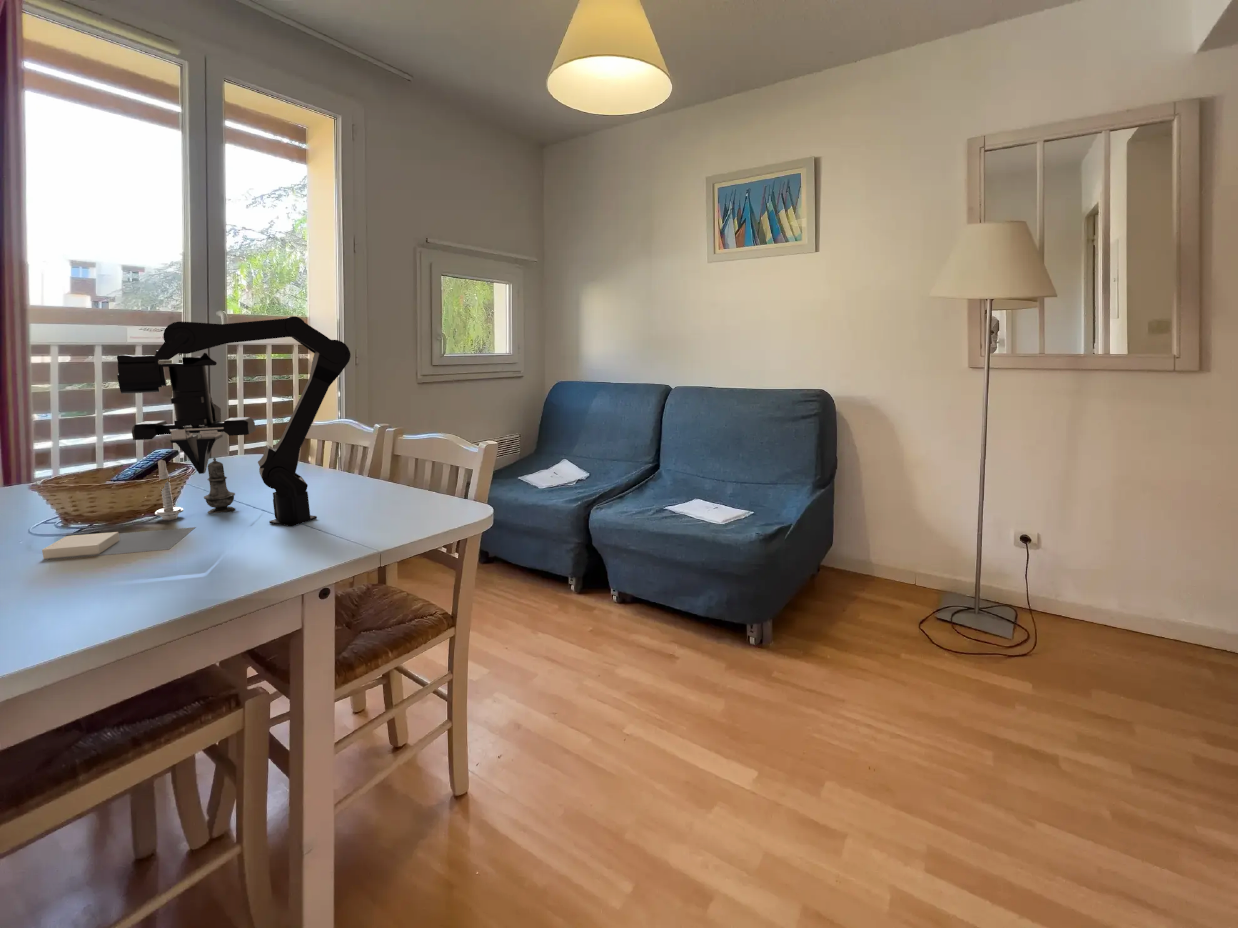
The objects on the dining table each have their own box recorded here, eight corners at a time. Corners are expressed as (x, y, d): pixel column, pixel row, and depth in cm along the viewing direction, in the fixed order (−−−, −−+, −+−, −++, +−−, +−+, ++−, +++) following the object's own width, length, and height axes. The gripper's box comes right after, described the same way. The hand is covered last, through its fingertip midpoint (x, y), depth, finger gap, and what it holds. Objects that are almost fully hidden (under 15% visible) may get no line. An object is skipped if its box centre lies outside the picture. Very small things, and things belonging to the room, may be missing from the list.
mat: (196, 529, 127) (195, 527, 127) (169, 551, 114) (169, 549, 114) (88, 538, 122) (87, 535, 122) (47, 562, 109) (46, 560, 109)
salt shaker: (226, 514, 137) (219, 460, 135) (199, 515, 138) (191, 460, 135) (242, 507, 143) (236, 454, 141) (217, 507, 143) (209, 455, 141)
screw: (153, 525, 130) (159, 519, 135) (181, 522, 132) (186, 516, 137) (143, 462, 128) (150, 458, 132) (172, 460, 130) (177, 456, 134)
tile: (118, 531, 119) (66, 536, 117) (97, 544, 111) (41, 549, 109) (119, 540, 119) (68, 544, 117) (99, 553, 112) (43, 558, 109)
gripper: (257, 386, 129) (266, 462, 132) (149, 389, 124) (161, 468, 127) (242, 390, 118) (252, 473, 121) (124, 394, 113) (138, 480, 116)
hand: (202, 473), depth 122 cm, fingers closed
